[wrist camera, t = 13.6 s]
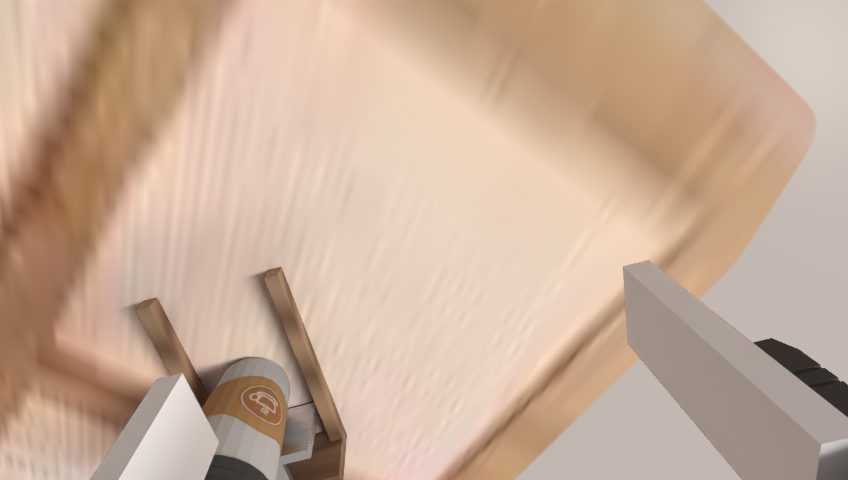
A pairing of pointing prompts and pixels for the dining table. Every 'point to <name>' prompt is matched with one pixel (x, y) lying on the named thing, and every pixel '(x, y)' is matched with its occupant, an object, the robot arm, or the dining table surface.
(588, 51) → the dining table surface
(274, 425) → the coffee cup
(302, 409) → the pusher
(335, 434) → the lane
